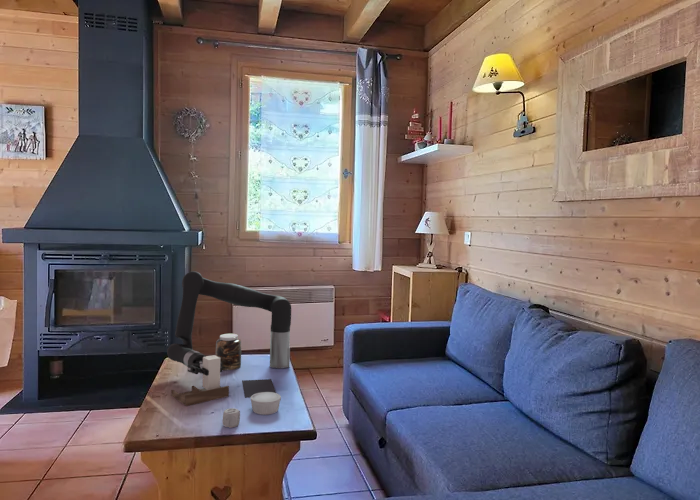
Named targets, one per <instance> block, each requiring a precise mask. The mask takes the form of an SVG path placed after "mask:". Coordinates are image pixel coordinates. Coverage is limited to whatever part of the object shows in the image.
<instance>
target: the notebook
mask: <svg viewBox="0 0 700 500" xmlns="http://www.w3.org/2000/svg"><path fill="white" fill-rule="evenodd" d="M241 383H242V389H243V395H244V398H245V399H248V398H249V399H251V396H252V395H254V394H256V393H261V392H273V393H277V391H276V388H275V385H274V383H273V380H272V378H265V379H246V380H241Z"/></svg>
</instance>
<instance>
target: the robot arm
mask: <svg viewBox="0 0 700 500" xmlns="http://www.w3.org/2000/svg"><path fill="white" fill-rule="evenodd" d="M181 284H182V285H181V286H182V289H183V290H182V301H181V304H180V305H181V306H180V309H179V313H178V316H177V320H176V326H175V327H176V328H175V333H174V335H175V337H176V338H177V339H179V340H181V341H182V343H172V344H170V345H169V346H168V347H167V350H166V353H167V357H168V359H170V360H171V361H174V362H177V363H180V364H183V365H184V366H186V367H187V372H188V373H191V374H195V375H199V374H201V375H203V374H204V375H206V376H207V375H209V370H208V369H206V368H203V357H206V356H207V355H205V354H204V353H201V352H199V351H198V350H194V349H193V341H192V335H193V334H192V333H193V328H194V325H195V324H194V323H195V317H196V315H195V314H196V307H197V302H198V298H199V295H201V296H205V297H210V298H214V299H216V300H218V301H222V302H226V303H229V304H232V305H235V306H238V307H245V308H258V309H262V310H265V311H268V312H271V321H270V340H269V341H270V345H269V346H270V347H269V349H270V351H269V367H270V368H273V369H286V368H290V365H291V364H290V362H291V359H290V357H291V347H290V346H291V345H290V343H291V342H290V341H291V325H292V304H291V303H290V301H289V300H288V299H287V298H286V297H284V296H281V295H274V294H268V293H264V292H261V291H258V290H255V289H253V288H250V287H247V286H244V285H239V284H236V283H232V282H223V281H222V282H220V281H214V280H210V279H208V278H205V277H203V275H202V274H201V273H200V272H198V271H194V270H193V271H189V272H187V273H186V274H184V276H182V281H181ZM222 373H223V370H222V363H221V361H220V374H222Z"/></svg>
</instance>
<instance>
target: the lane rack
mask: <svg viewBox="0 0 700 500" xmlns="http://www.w3.org/2000/svg"><path fill="white" fill-rule="evenodd" d="M170 394H171V395H170V396H171V397H173V398H175V399H176V400H177V401H178V402H180V403H181V404H182V405H184V406H186V407H188V406H191V405H197V404H202V403H205V402H209V401H214V400H218V399H223V398H228V397H230V386H229V385H226V386H221V385H220V388H215V389H210V390H207V389H205V388H204V387H203V388H198V387H196V386H195V385H192V386H191V390H190V391H186V392H180V393H179V392H177V391H176V390H174V389H171V393H170Z"/></svg>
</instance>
